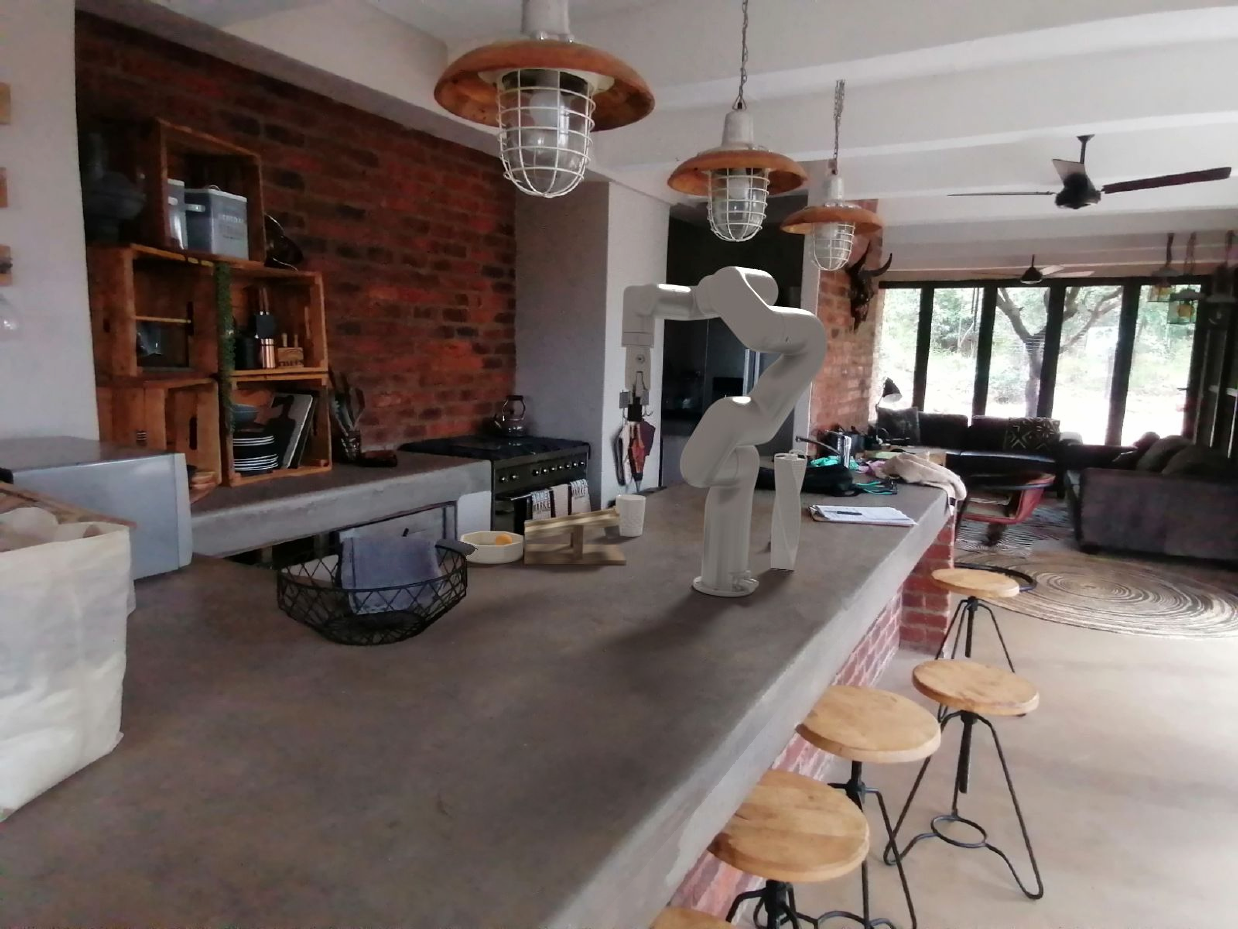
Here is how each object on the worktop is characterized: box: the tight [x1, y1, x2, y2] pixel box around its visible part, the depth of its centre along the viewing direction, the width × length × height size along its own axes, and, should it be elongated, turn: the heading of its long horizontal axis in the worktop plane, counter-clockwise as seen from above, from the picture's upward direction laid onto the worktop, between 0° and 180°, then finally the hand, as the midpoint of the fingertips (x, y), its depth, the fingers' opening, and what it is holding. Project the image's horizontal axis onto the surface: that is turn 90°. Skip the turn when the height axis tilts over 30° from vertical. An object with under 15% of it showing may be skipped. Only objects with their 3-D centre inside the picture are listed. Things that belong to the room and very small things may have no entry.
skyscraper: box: [770, 448, 808, 571], centre depth 182 cm, size 8×7×28 cm
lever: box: [523, 505, 622, 541], centre depth 188 cm, size 22×16×6 cm
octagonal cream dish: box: [459, 530, 524, 565], centre depth 183 cm, size 14×14×4 cm
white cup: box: [615, 493, 647, 538], centre depth 210 cm, size 8×8×10 cm
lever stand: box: [523, 511, 627, 566], centre depth 185 cm, size 23×14×9 cm, turn 97°
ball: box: [495, 534, 512, 546], centre depth 184 cm, size 4×4×4 cm
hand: (634, 421), depth 183 cm, fingers closed
